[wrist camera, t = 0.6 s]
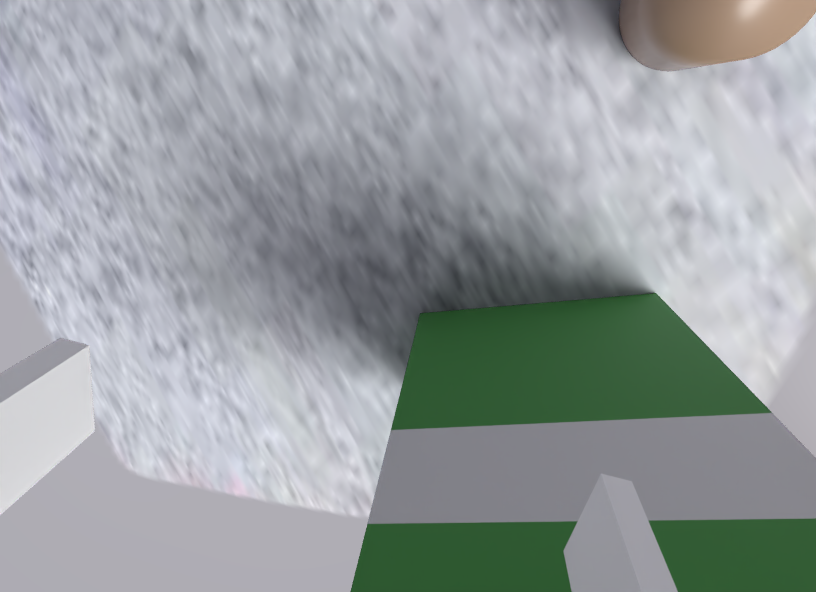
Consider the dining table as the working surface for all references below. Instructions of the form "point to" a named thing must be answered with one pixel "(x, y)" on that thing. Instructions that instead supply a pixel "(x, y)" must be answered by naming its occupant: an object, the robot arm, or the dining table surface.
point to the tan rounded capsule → (707, 29)
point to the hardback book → (581, 454)
